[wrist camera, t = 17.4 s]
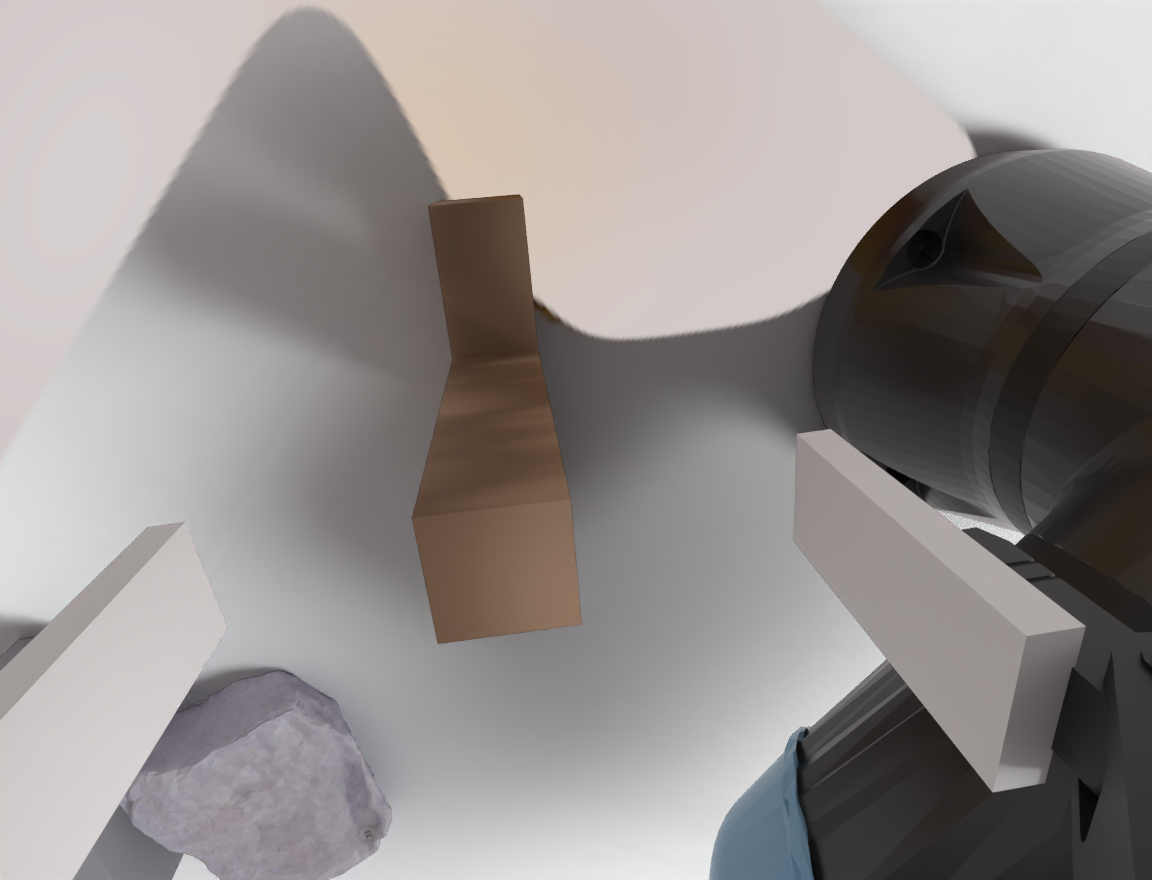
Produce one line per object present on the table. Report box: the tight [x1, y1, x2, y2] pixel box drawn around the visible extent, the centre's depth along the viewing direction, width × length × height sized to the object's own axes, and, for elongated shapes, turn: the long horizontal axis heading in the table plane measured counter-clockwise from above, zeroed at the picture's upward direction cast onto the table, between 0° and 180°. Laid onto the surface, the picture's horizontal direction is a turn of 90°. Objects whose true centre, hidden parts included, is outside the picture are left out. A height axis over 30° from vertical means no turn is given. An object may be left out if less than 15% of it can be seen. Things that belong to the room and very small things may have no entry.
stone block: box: [119, 671, 392, 880], centre depth 32 cm, size 12×5×10 cm
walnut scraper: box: [412, 195, 582, 644], centre depth 19 cm, size 3×13×15 cm, turn 4°
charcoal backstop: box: [0, 637, 184, 880], centre depth 29 cm, size 3×14×5 cm, turn 6°
